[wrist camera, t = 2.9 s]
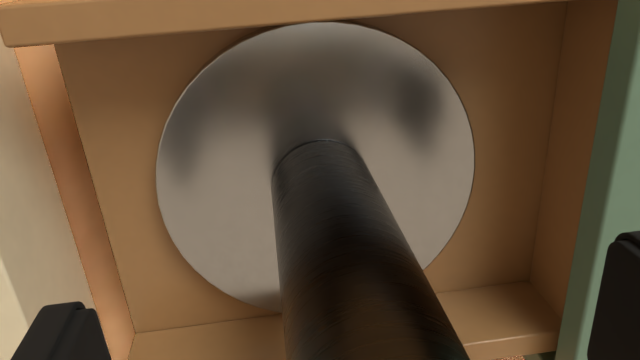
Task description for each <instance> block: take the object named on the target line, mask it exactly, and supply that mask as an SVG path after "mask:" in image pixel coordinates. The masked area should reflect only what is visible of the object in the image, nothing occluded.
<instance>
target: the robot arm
mask: <svg viewBox="0 0 640 360" xmlns="http://www.w3.org/2000/svg"><path fill="white" fill-rule="evenodd" d="M587 358H588V360H640V231H632V232H624V233H621V234H619V235H618V236H617V237H616V238H615V241H614V242H612V243H611V244H610V245H609V246H608V249H607V254H606V259H605V264H604V269H603V274H602V279H601V284H600V289H599V294H598V299H597V304H596V309H595V314H594V319H593V324H592V329H591V334H590V339H589V344H588V349H587ZM10 360H111V357H110V353H109V350H108V347H107V344H106V341H105V337H104V334H103V331H102V328H101V324H100V321H99V318H98V315H97V312H96V311H95V309H93V308H88V309H86V307H85V305H84V304H83V303H82V302H80V301H76V302H68V303H60V304H52V305H46V306H43V307H42V308H41V310H40V311H39V312H38V314H37V316H36V318H35V319H34V321H33V323H32V324H31V326H30V328H29V329H28V331H27V333H26V334H25V336H24V338H23V339H22V341H21V343H20V344H19V346H18V348H17V349H16V351H15V353H14V354H13V356H12V358H11V359H10Z"/></svg>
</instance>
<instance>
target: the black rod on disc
mask: <svg viewBox="0 0 640 360" xmlns="http://www.w3.org/2000/svg"><path fill="white" fill-rule="evenodd" d="M474 174H475V145H474V138H473V131H472V127H471V124H470V121H469V117H468V114H467V111H466V109H465V107H464V105H463V102H462V100H461V98H460V96H459V94H458V92H457V91H456V89H455V88H454V86H453V85H452V83H451V82H450V80H449V79H448V77H447V76H446V75H445V74H444V73H443V72H442V71H441V69H440V68H439V67H438V66H437V65H436V64H435V63H434V62H433V61H432V60H431V59H430V58H428V57H427V56H426V55H425V54H424V53H422V52H421V51H420V50H419V49H417V48H416V47H414V46H413V45H411V44H409V43H408V42H406V41H404V40H403V39H401V38H399V37H398V36H396V35H395V34H392V33H390V32H388V31H385V30H383V29H381V28H378V27H376V26H373V25H369V24H366V23H362V22H358V21H354V20H348V19H347V20H335V21H323V22H311V23H299V24H288V25H276V26H266V27H263V28H260V29H258V30H256V31H254V32H252V33H249V34H247V35H245V36H243V37H240V38H239V39H237V40H236V41H234V42H233V43H231V44H229V45H228V46H226V47H225V48H223V49H221V50H220V51H219V52H218V53H217V54H215V55H214V56H213V57H212V58H211V59H209V60H208V61H207V62H206V63H205V64H203V66H202V67H201V68H200V69H199V70H198V71H197V72H196V73H195V75H194V76H193V77H192V78H191V79H190V80H189V81H188V83H187V84H186V86H185V87H184V89H183V90H182V92H181V93H180V95H179V96H178V98H177V99H176V101H175V103H174V105H173V108H172V110H171V112H170V114H169V116H168V118H167V120H166V122H165V125H164V128H163V131H162V134H161V138H160V141H159V144H158V150H157V157H156V164H155V186H156V193H157V200H158V205H159V209H160V212H161V215H162V219H163V222H164V224H165V226H166V229H167V231H168V233H169V235H170V237H171V239H172V241H173V242H174V244H175V245H176V247H177V249H178V250H179V252H180V253H181V255H182V256H183V257H184V258H185V260H186V261H187V262H188V263H189V264H190V265H191V267H192V268H193V269H194V270H195V271H196V272H197V273H198V274H200V275H201V276H202V277H203V278H204V279H205V280H206V281H208V282H209V283H210V284H212V285H213V286H215V287H216V288H218V289H219V290H221V291H222V292H224V293H225V294H227V295H229V296H231V297H233V298H235V299H237V300H239V301H241V302H244V303H247V304H249V305H252V306H255V307H258V308H262V309H266V310H270V311H274V312H280V313H282V319H283V331H284V342H285V353H286V360H470V358H469V356H468V354H467V352H466V350H465V348H464V347H463V345H462V343H461V341H460V339H459V337H458V335H457V334H456V332H455V330H454V328H453V326H452V324H451V322H450V320H449V319H448V317H447V315H446V313H445V311H444V309H443V307H442V305H441V304H440V302H439V300H438V298H437V296H436V294H435V292H434V291H433V289H432V287H431V285H430V283H429V281H428V279H427V277H426V276H425V274H424V272H423V270H424V269H425V268H427V267H428V266H429V265H430V264H431V263H432V261H433V260H434V259H435V258H436V257H437V256H438V255H439V254H440V253H441V252H442V250H443V249H444V247H445V246H446V245H447V243H448V242H449V241H450V239H451V238H452V236H453V234H454V233H455V231H456V229H457V228H458V226H459V224H460V222H461V220H462V217H463V215H464V213H465V210H466V208H467V206H468V202H469V199H470V195H471V191H472V188H473V181H474Z"/></svg>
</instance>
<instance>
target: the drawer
mask: <svg viewBox="0 0 640 360" xmlns="http://www.w3.org/2000/svg"><path fill="white" fill-rule="evenodd" d="M617 4H618V0H18V1H14V2H10V3H5V4H1V5H0V360H10V359H11V358H12V356H13V354H14V353H15V351H16V349H17V348H18V346H19V344H20V343H21V341H22V339H23V338H24V336H25V334H26V333H27V331H28V329H29V328H30V326H31V324H32V323H33V321H34V319H35V318H36V316H37V314H38V312H39V311H40V310H41V308H42V307H43V306H46V305H52V304H60V303H68V302H76V301H80V302H82V303H83V304H84V305H85V307H86V309H88V308H93V309H95V311H96V312H97V310H96V307H95V304H94V301H93V297H92V294H91V291H90V288H89V285H88V282H87V278H86V275H85V272H84V269H83V266H82V263H81V259H80V256H79V253H78V250H77V247H76V244H75V240H74V237H73V234H72V231H71V228H70V225H69V221H68V218H67V215H66V212H65V209H64V206H63V203H62V199H61V196H60V193H59V190H58V187H57V184H56V180H55V177H54V174H53V171H52V168H51V165H50V161H49V158H48V155H47V152H46V149H45V146H44V142H43V139H42V136H41V133H40V130H39V127H38V123H37V120H36V117H35V114H34V111H33V108H32V105H31V101H30V98H29V95H28V92H27V89H26V86H25V82H24V79H23V76H22V73H21V70H20V67H19V63H18V60H17V57H16V54H15V51H14V48H15V47H27V46H39V45H51V44H54V47H55V50H56V54H57V57H58V61H59V64H60V68H61V71H62V75H63V78H64V82H65V86H66V89H67V93H68V96H69V100H70V103H71V107H72V110H73V114H74V117H75V121H76V125H77V128H78V132H79V135H80V139H81V142H82V146H83V149H84V153H85V156H86V160H87V164H88V167H89V171H90V174H91V178H92V181H93V185H94V188H95V192H96V195H97V199H98V202H99V206H100V210H101V213H102V217H103V220H104V224H105V227H106V231H107V234H108V238H109V241H110V245H111V249H112V252H113V256H114V259H115V263H116V266H117V270H118V273H119V277H120V280H121V284H122V288H123V291H124V295H125V298H126V302H127V305H128V309H129V312H130V316H131V319H132V323H133V327H134V330H135V336H134V340H133V343H132V346H131V350H130V353H129V357H128V360H286V353H285V342H284V331H283V319H282V313H280V312H274V311H270V310H266V309H262V308H258V307H255V306H252V305H249V304H247V303H244V302H241V301H239V300H237V299H235V298H233V297H231V296H229V295H227V294H225V293H224V292H222V291H221V290H219V289H218V288H216V287H215V286H213V285H212V284H210V283H209V282H208V281H206V280H205V279H204V278H203V277H202V276H201V275H200V274H198V273H197V272H196V271H195V270H194V269H193V268H192V267H191V265H190V264H189V263H188V262H187V261H186V260H185V258H184V257H183V256H182V255H181V253H180V252H179V250H178V249H177V247H176V245H175V244H174V242H173V241H172V239H171V237H170V235H169V233H168V231H167V229H166V226H165V224H164V222H163V219H162V215H161V212H160V209H159V205H158V200H157V193H156V186H155V164H156V157H157V150H158V144H159V141H160V138H161V134H162V131H163V128H164V125H165V122H166V120H167V118H168V116H169V114H170V112H171V110H172V108H173V105H174V103H175V101H176V99H177V98H178V96H179V95H180V93H181V92H182V90H183V89H184V87H185V86H186V84H187V83H188V81H189V80H190V79H191V78H192V77H193V76H194V75H195V73H196V72H197V71H198V70H199V69H200V68H201V67H202V66H203V64H205V63H206V62H207V61H208V60H209V59H211V58H212V57H213V56H214V55H215V54H217V53H218V52H219V51H220V50H221V49H223V48H225V47H226V46H228V45H229V44H231V43H233V42H234V41H236V40H237V39H239V38H240V37H243V36H245V35H247V34H249V33H252V32H254V31H256V30H258V29H260V28H263V27H266V26H276V25H288V24H299V23H311V22H323V21H335V20H347V19H348V20H354V21H358V22H362V23H366V24H369V25H373V26H376V27H378V28H381V29H383V30H385V31H388V32H390V33H392V34H395V35H396V36H398V37H399V38H401V39H403V40H404V41H406V42H408V43H409V44H411V45H413V46H414V47H416V48H417V49H419V50H420V51H421V52H422V53H424V54H425V55H426V56H427V57H428V58H430V59H431V60H432V61H433V62H434V63H435V64H436V65H437V66H438V67H439V68H440V69H441V71H442V72H443V73H444V74H445V75H446V76H447V77H448V79H449V80H450V82H451V83H452V85H453V86H454V88H455V89H456V91H457V92H458V94H459V96H460V98H461V100H462V102H463V105H464V107H465V109H466V111H467V114H468V117H469V121H470V124H471V127H472V131H473V138H474V145H475V174H474V181H473V188H472V191H471V195H470V199H469V202H468V206H467V208H466V210H465V213H464V215H463V217H462V220H461V222H460V224H459V226H458V228H457V229H456V231H455V233H454V234H453V236H452V238H451V239H450V241H449V242H448V243H447V245H446V246H445V247H444V249H443V250H442V252H441V253H440V254H439V255H438V256H437V257H436V258H435V259H434V260H433V261H432V263H431V264H430V265H429V266H428V267H427V268H425V269H424V270H423V272H424V274H425V276H426V277H427V279H428V281H429V283H430V285H431V287H432V289H433V291H434V292H435V294H436V296H437V298H438V300H439V302H440V304H441V305H442V307H443V309H444V311H445V313H446V315H447V317H448V319H449V320H450V322H451V324H452V326H453V328H454V330H455V332H456V334H457V335H458V337H459V339H460V341H461V343H462V345H463V347H464V348H465V350H466V352H467V354H468V356H469V358H470V360H496V359H503V358H509V357H516V356H523V355H530V354H537V353H543V352H550V351H556V350H557V344H558V339H559V333H560V327H561V322H562V316H563V310H564V305H565V299H566V293H567V288H568V282H569V276H570V271H571V265H572V259H573V254H574V248H575V242H576V237H577V231H578V225H579V220H580V214H581V208H582V203H583V197H584V191H585V186H586V180H587V174H588V169H589V163H590V157H591V152H592V146H593V140H594V135H595V129H596V123H597V118H598V112H599V106H600V101H601V95H602V89H603V84H604V78H605V72H606V67H607V61H608V55H609V50H610V44H611V38H612V33H613V27H614V21H615V16H616V10H617ZM97 315H98V313H97ZM98 318H99V316H98ZM99 321H100V319H99ZM100 324H101V323H100ZM101 328H102V326H101ZM102 331H103V329H102ZM103 334H104V332H103ZM104 337H105V335H104ZM105 341H106V338H105ZM106 344H107V342H106ZM107 347H108V345H107ZM108 350H109V348H108Z"/></svg>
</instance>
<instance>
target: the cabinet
mask: <svg viewBox="0 0 640 360" xmlns="http://www.w3.org/2000/svg"><path fill="white" fill-rule="evenodd" d="M632 231H640V0H618V4H617V10H616V16H615V21H614V27H613V33H612V38H611V44H610V50H609V55H608V61H607V67H606V72H605V78H604V84H603V89H602V95H601V101H600V106H599V112H598V118H597V123H596V129H595V135H594V140H593V146H592V152H591V157H590V163H589V169H588V174H587V180H586V186H585V191H584V197H583V203H582V208H581V214H580V220H579V225H578V231H577V237H576V242H575V248H574V254H573V259H572V265H571V271H570V276H569V282H568V288H567V293H566V299H565V305H564V310H563V316H562V322H561V327H560V333H559V339H558V344H557V350H556V351H550V352H543V353H537V354H530V355H523V357H524V358H525V360H588V358H587V349H588V344H589V339H590V334H591V329H592V324H593V319H594V314H595V309H596V304H597V299H598V294H599V289H600V284H601V279H602V274H603V269H604V264H605V259H606V254H607V249H608V246H609V245H610V244H611V243H612V242H614V241H615V238H616V237H617V236H618V235H619V234H621V233H624V232H632Z"/></svg>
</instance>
